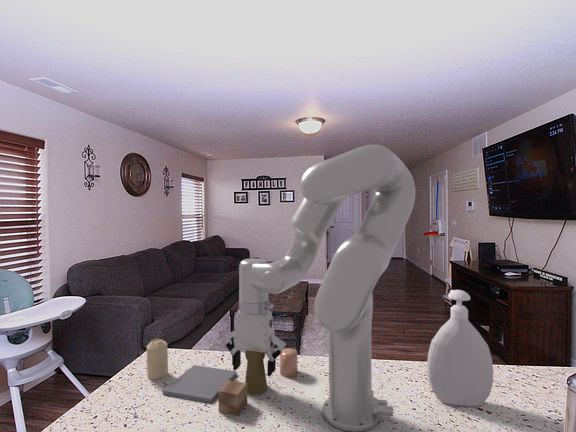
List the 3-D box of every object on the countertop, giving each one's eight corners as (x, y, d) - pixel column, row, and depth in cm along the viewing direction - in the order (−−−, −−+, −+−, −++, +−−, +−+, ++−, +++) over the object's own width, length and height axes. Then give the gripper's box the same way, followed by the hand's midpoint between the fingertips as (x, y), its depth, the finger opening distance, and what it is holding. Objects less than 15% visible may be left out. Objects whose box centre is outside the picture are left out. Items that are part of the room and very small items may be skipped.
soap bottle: (484, 393, 82) (484, 286, 81) (499, 413, 74) (499, 294, 73) (423, 388, 84) (422, 284, 84) (430, 407, 76) (429, 292, 76)
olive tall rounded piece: (263, 396, 82) (263, 352, 82) (241, 393, 83) (240, 351, 83) (269, 383, 88) (269, 342, 88) (248, 381, 89) (247, 341, 89)
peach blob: (299, 369, 95) (299, 349, 95) (294, 378, 90) (294, 357, 90) (283, 367, 96) (282, 347, 96) (277, 376, 92) (277, 355, 92)
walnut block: (247, 403, 79) (247, 383, 79) (238, 416, 74) (237, 394, 74) (228, 400, 81) (228, 380, 81) (218, 412, 76) (218, 391, 76)
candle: (172, 373, 94) (171, 338, 94) (155, 381, 90) (154, 345, 89) (160, 368, 97) (159, 335, 97) (143, 376, 93) (142, 341, 92)
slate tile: (236, 374, 93) (236, 371, 93) (211, 403, 79) (211, 399, 79) (194, 368, 97) (193, 365, 97) (162, 394, 84) (162, 390, 83)
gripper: (289, 305, 86) (289, 369, 87) (230, 299, 91) (230, 359, 92) (280, 314, 79) (280, 383, 80) (217, 307, 84) (217, 372, 85)
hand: (253, 370), depth 86 cm, fingers open, 9 cm apart
